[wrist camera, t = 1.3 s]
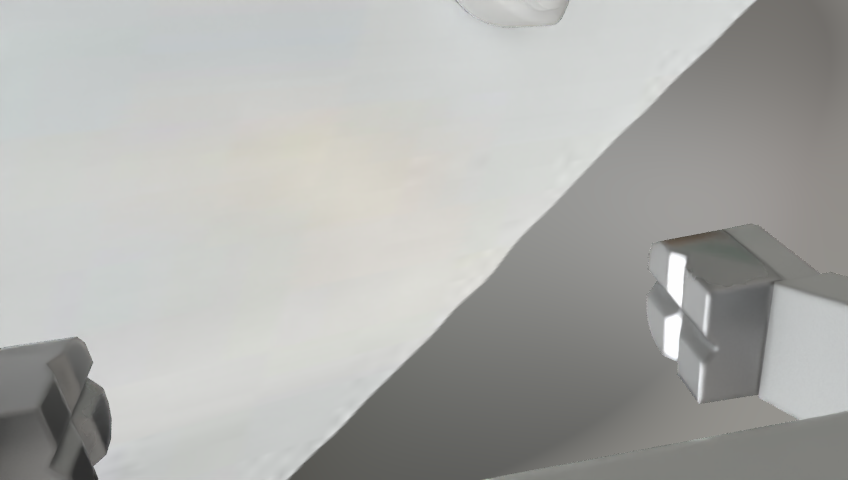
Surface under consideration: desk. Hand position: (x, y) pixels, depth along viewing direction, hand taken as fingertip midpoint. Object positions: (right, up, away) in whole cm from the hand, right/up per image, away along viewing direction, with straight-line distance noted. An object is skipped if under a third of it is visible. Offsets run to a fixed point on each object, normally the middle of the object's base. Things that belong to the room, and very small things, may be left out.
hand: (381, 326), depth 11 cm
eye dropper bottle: (+5, +19, +43) cm, 47 cm away
